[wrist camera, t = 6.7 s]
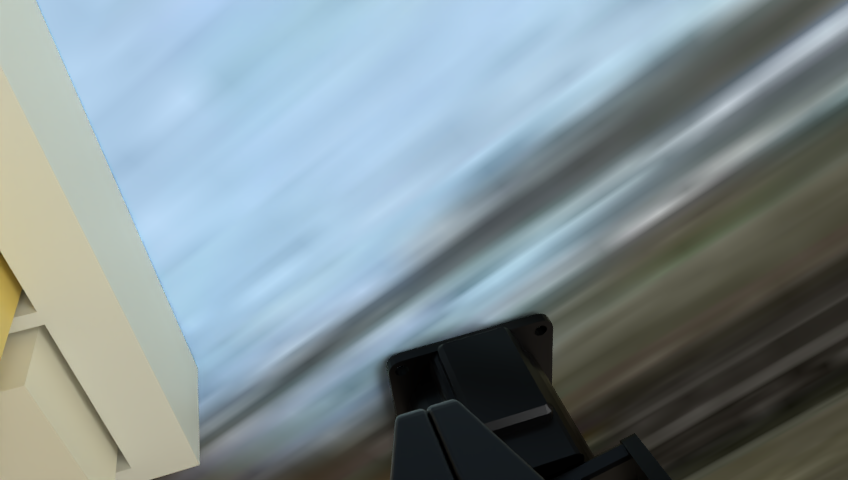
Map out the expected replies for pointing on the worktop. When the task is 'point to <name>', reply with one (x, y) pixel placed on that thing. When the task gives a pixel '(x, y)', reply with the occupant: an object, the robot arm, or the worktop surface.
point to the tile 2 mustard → (7, 300)
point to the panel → (87, 259)
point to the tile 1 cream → (48, 416)
